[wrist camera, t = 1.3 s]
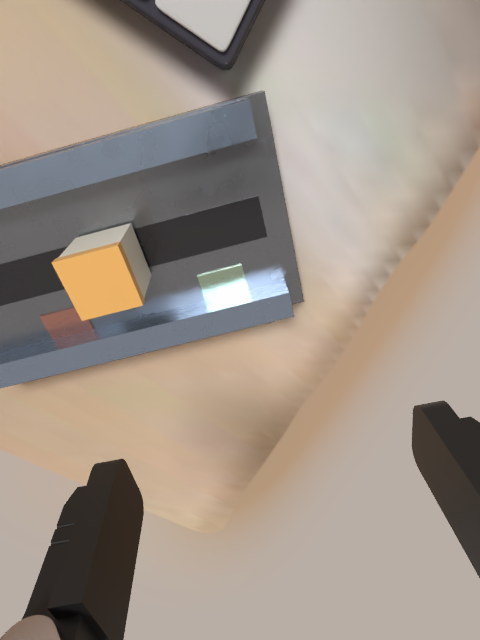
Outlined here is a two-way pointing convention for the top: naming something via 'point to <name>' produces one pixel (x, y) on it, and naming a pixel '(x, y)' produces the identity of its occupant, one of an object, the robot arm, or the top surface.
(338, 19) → the top surface
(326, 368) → the top surface
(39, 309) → the panel
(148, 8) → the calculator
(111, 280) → the breaker toggle
